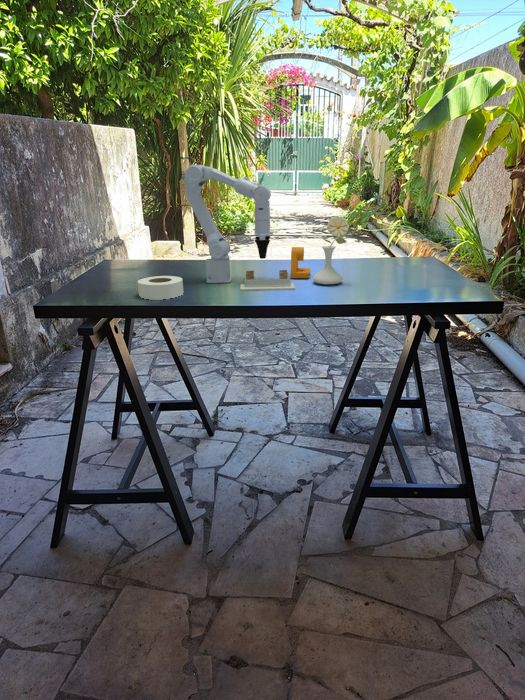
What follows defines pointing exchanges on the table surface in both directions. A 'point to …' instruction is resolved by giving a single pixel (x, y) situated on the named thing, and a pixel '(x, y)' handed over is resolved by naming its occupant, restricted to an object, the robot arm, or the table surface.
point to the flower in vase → (337, 229)
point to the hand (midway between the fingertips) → (262, 256)
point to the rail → (266, 282)
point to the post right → (283, 274)
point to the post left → (249, 274)
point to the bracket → (296, 256)
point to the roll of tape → (160, 287)
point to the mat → (267, 288)
